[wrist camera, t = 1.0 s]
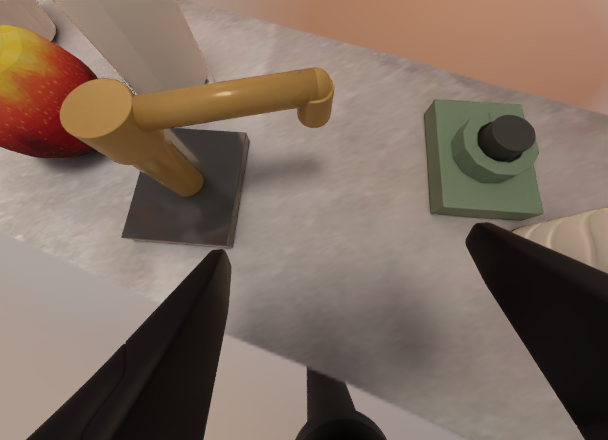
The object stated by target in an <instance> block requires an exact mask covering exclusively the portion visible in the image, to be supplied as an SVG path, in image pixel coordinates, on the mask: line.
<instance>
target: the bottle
mask: <svg viewBox="0 0 608 440" xmlns="http://www.w3.org/2000/svg"><path fill="white" fill-rule="evenodd" d="M53 1H54V2H55V3H56V4H57V5H58V6H59V8H60V9H61V10H62V11H63V12H64V13H65V14H66V15H67V16H68V17H69V19H70V20H71V21H72V22H73V23H74V24H75V25H76V26H77V27H78V29H79V30H80V31H81V32H82V33H83V34H84V35H85V36H86V37H87V38H88V40H89V41H90V42H91V43H92V44H93V45H94V46H95V47H96V48H97V49H98V51H99V52H100V53H101V54H102V55H103V56H104V57H105V58H106V59H107V61H108V62H109V63H110V64H111V65H112V66H113V67H114V68H115V69H116V70H117V72H118V73H119V74H120V75H121V76H122V77H123V78H124V79H125V80H126V81H127V83H128V84H129V85H130V86H131V87H132V88H133V89H134V90H135V91H136V92H137V94H138V95H139V94H146V93H152V92H159V91H165V90H172V89H178V88H185V87H191V86H198V85H204V84H205V81H206V78H207V83H206V84H211V83H215V82H214V80H213V78H212V76H211V73H210V71H209V69H208V67H207V65H206V63H205V61H204V58H203V56H202V54H201V52H200V50H199V47H198V45H197V43H196V41H195V39H194V37H193V34H192V32H191V30H190V28H189V26H188V24H187V22H186V19H185V17H184V15H183V13H182V11H181V9H180V6H179V4H178V2H177V0H53Z"/></svg>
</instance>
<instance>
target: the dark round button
mask: <svg viewBox="0 0 608 440" xmlns="http://www.w3.org/2000/svg"><path fill="white" fill-rule="evenodd" d="M477 142H478V146H479V147H480V149H481V150H482V151H483V153H484V154H485V155H486V156H487V157H489V158H491V159H493V160H495V161H508V160H510V159H512V158H514V157H516V156H517V155H519V154H521V153H522V152H524V151H526V150H528V149H529V148H531V147H532V145H533V144H534V142H535V131H534V129H533V127H532V126H531V125H530V124H529V123H528V122H527V121H526V120H525V119H523V118H521V117H519V116H516V115H503V116H500V117H498V118H497V119H495V120H494V121H493V122H492V123H491V124H489V125H488V126H487V127H486V128H485V129H483V130H482V131H481V132H480V134H479V136H478V140H477Z"/></svg>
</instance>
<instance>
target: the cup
mask: <svg viewBox="0 0 608 440" xmlns="http://www.w3.org/2000/svg"><path fill="white" fill-rule="evenodd" d="M0 25H9V26H14V27H19V28H24V29H27V30H29V31H32V32H34V33H37V34H39V35H40V36H42V37H44V38H46V39H47V40H49V41H52V39H53V38H54V36H55V34H56V26H55V25H54V23H53V22H52V20H51V19H50V18H49V17H48V15H47V14H46V13H45V12H44V10H43V9H42V8H41V7H40V6H39V4H38V3H37V2H36V1H35V0H0Z"/></svg>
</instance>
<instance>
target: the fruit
mask: <svg viewBox="0 0 608 440" xmlns="http://www.w3.org/2000/svg"><path fill="white" fill-rule="evenodd" d="M95 79H98V78H97V76H96V75H95V74H94V73H93V72H92V71H91V69H90V68H89V67H88V66H86V65H85V64H84V63H83V62H82V61H81V60H79V59H78V58H76V57H75V56H73V55H72V54H70V53H69V52H67V51H66V50H64V49H63V48H61V47H60V46H58V45H56V44H54V43H53V42H51V41H49V40H47V39H46V38H44V37H42V36H40V35H39V34H37V33H34V32H32V31H29V30H27V29H24V28H19V27H14V26H9V25H0V147H3V148H5V149H8V150H11V151H14V152H18V153H21V154H25V155H29V156H33V157H38V158H70V157H75V156H78V155H82V154H85V153H88V152H89V151H91V150H93V149H94V148H92V147H91V146H89V145H87V144H86V143H84V142H83V141H81V140H79V139H78V138H76V137H74V136H73V135H71V134H70V133H68V132H67V131H66V130H65V128H64V127H63V125H62V124H61V121H60V110H61V106H62V104H63V102H64V100H65V99H66V97H67V96H68V95H69V94H70V93H71V92H72V91H73V90H74V89H75V88H77V87H78V86H80V85H82V84H84V83H86V82H88V81H91V80H95Z"/></svg>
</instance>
